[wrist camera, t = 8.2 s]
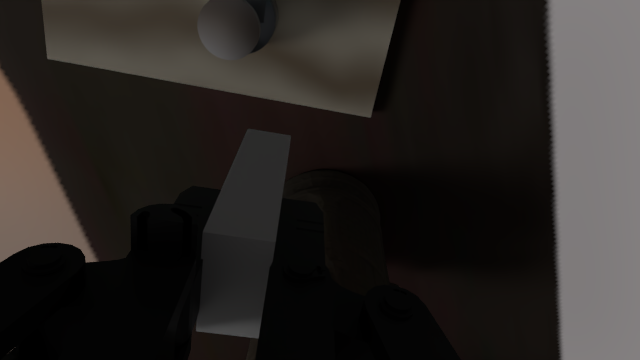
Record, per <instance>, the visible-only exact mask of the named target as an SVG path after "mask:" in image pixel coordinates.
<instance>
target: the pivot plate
mask: <svg viewBox="0 0 640 360" xmlns="http://www.w3.org/2000/svg"><path fill="white" fill-rule="evenodd" d="M275 1H276V3H277V6H278V12H279V19H278V25H277V28H276V30H275V32H274V34H273V35H272V37H271V38H270V40H269V42H268V43H267V44H266V45H265V46H264V47H263V48H262V49H260V50H258V51H256V52H254V53H251V54H249V53H250V52H251V51H252V50H253V49H254V47H255V46H256V44H257V43H258V40H259V37H260V31H261V27H260V21H259V17H258V15H257V13H256V11H255V10H254V8H253V7H252V6H251V5H250V4H249V3H248V2H247V1H245V0H210V1H209V0H42V10H43V20H44V29H45V39H46V49H47V59H52V60H58V61H63V62H69V63H74V64H80V65H85V66H90V67H96V68H101V69H107V70H112V71H118V72H123V73H129V74H134V75H140V76H145V77H151V78H156V79H162V80H167V81H173V82H178V83H183V84H189V85H194V86H200V87H205V88H211V89H216V90H222V91H227V92H233V93H238V94H244V95H249V96H255V97H260V98H265V99H271V100H276V101H282V102H287V103H293V104H298V105H304V106H309V107H315V108H320V109H326V110H331V111H337V112H342V113H348V114H353V115H358V116H364V117H369V118H371V114H372V110H373V106H374V102H375V98H376V94H377V90H378V86H379V83H380V79H381V75H382V71H383V67H384V63H385V59H386V55H387V51H388V48H389V44H390V40H391V36H392V32H393V28H394V24H395V20H396V16H397V12H398V9H399V5H400V1H401V0H275Z"/></svg>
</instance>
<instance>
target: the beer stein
mask: <svg viewBox="0 0 640 360" xmlns="http://www.w3.org/2000/svg"><path fill="white" fill-rule="evenodd" d="M282 198H287V199H294V200H301V201H308V202H314V203H316V204H317V205H318V206H319V208H320V209H321V210H322V212H323V218H324V224H323V225H324V243H325V266H326V267H327V268H328V269H329V272H330V275H331V278H332V279H333V280H334V281H335V282H336V283H337V284H339V285H340V286H342V287H344V288H346V289H348V290H350V291H352V292H355V293H358V294H361V295H363V296H366V293H367V291H369V290H370V289H372V288H373V287H375V286H380V285H391V286H397V287H399V286H398V285H396V284H394V283H390V282H389V278H388V272H387V266H386V261H385V253H384V247H383V241H382V230H381V226H380V212H379V207H378V204H377V201H376V199H375V198H374V196H373V194H372V193H371V191H370V190H369V189H368V188H367V186H365V185H364V184H363V183H362V182H360V181H359V180H357V179H356V178H354V177H352V176H350V175H347V174H345V173H342V172H338V171H332V170H316V171H310V172H305V173H302V174H300V175H298V176H296V177H294V178H292V179H290V180H288V181H287V182H286V183H284V188H283V195H282ZM257 345H258V338H251V340H250V345H249V349H248V353H247V358H246V360H255V357H256V351H257Z"/></svg>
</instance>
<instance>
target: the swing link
mask: <svg viewBox="0 0 640 360" xmlns="http://www.w3.org/2000/svg"><path fill="white" fill-rule="evenodd" d="M209 1H210V0H209ZM245 1H247V2H248V3H249V4H250V5H251V6H252V7H253V8H254V10H255V11H256V13H257V15H258V17H259V21H260V27H261V31H260V37H259V40H258V43H257V44H256V46H255V47H254V49H253V50H252V51H251V52H250V53H249V54H251V53H254V52H256V51H258V50H260V49H262V48H263V47H264V46H265V45H266V44H267V43H268V42H269V40H270V38H271V37H272V35H273V34H274V32H275V30H276V28H277V25H278V19H279V12H278V6H277V3H276V1H275V0H245Z"/></svg>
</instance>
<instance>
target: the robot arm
mask: <svg viewBox="0 0 640 360" xmlns="http://www.w3.org/2000/svg"><path fill="white" fill-rule="evenodd" d="M290 140H291V136H290V135H284V134H278V133H271V132H265V131H259V130H253V129H248V130H247V132H246V134H245V137H244V139H243V141H242V143H241V146H240V148H239V150H238V152H237V155H236V157H235V159H234V162H233V164H232V166H231V168H230V171H229V173H228V175H227V178H226V180H225V182H224V184H223V187H222V189H221V190H218V189H211V188H204V187H197V186H192V187H190V188H188V189H187V190H185V191H183V192H182V193H180V195H179V196H178V198H177V199H176V201H175V203H174V204H156V205H149V206H146V207H143V208H141V209H138V210H137V211H136V212H134V213H133V214H132V215H131V251H130V252H129V254H128V255H127V257H126V258H123V259H120V260H112V261H102V262H89V263H85V256H84V254H83V253H82V251H81V250H80V249H78V248H77V247H75V246H73V245H69V244H63V243H46V244H40V245H36V246H32V247H28V248H26V249H23V250H21V251H19V252H17V253H15V254H13V255H12V256H10V257H8V258H7V259H5V260H4V261H2V262H0V360H187V359H188V356H189V353H190V350H191V335H192V330H193V327H194V325H195V322H196V319H197V324H196V331H200V332H208V333H216V334H225V335H233V336H242V337H250V338H258V345H257V351H256V357H255V360H461V359H460V358H459V356H458V355H457V353H456V352H455V350H454V349H453V347H452V345H451V344H450V342H449V341H448V339H447V338H446V336H445V335H444V333H443V332H442V330H441V328H440V327H439V325H438V324H437V322H436V321H435V319H434V318H433V316H432V315H431V313H430V311H429V310H428V308H427V307H426V305H425V304H424V303H423V302H422V301H421V300H420V299H419V298H418V297H417V296H416V295H414V294H413V293H411V292H410V291H408V290H406V289H403V288H400V287H397V286H391V285H380V286H375V287H373V288H372V289H370V290H369V291H367V293H366V296H363V295H361V294H358V293H355V292H352V291H350V290H348V289H346V288H344V287H342V286H340V285H339V284H337V283H336V282H335V281H334V280H333V279H332V278H331V275H330V272H329V269H328V268H327V267H326V266H325V243H324V225H323V224H324V218H323V212H322V210H321V209H320V208H319V206H318V205H317V204H316V203H314V202H308V201H301V200H294V199H287V198H282V195H283V188H284V181H285V174H286V167H287V161H288V154H289V147H290ZM12 349H13V350H12ZM11 350H12V351H11Z"/></svg>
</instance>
